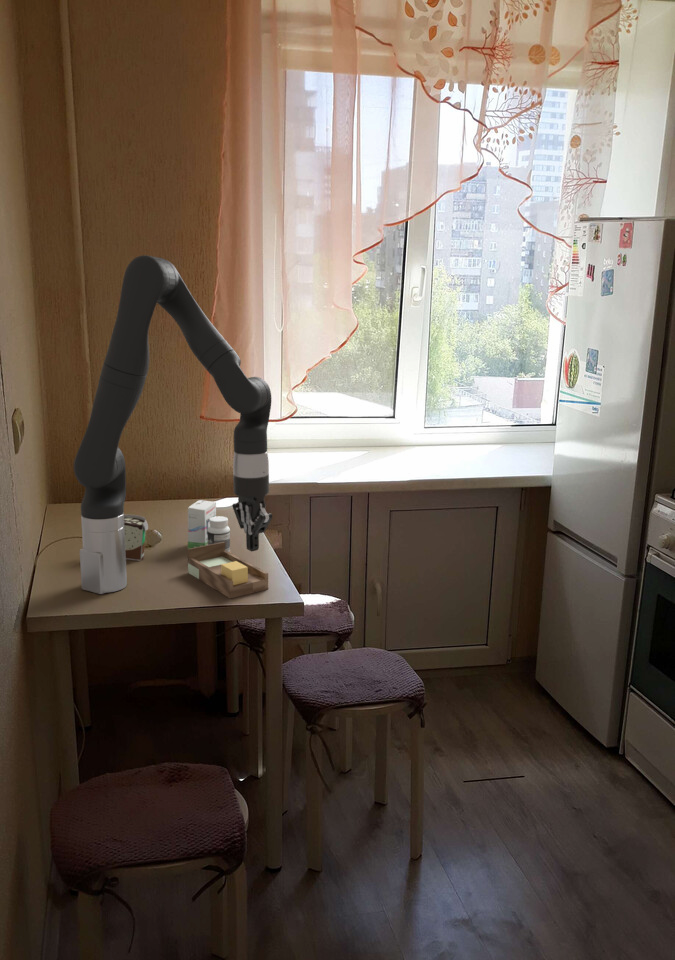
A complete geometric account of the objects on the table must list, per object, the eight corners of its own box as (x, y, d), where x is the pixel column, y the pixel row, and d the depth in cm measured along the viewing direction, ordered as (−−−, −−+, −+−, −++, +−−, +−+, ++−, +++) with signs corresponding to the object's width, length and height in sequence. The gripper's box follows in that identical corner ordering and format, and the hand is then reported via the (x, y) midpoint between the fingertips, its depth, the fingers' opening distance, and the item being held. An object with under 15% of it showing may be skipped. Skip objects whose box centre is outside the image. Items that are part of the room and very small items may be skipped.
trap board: (268, 589, 190) (268, 564, 189) (230, 598, 184) (229, 572, 183) (224, 564, 205) (224, 541, 204) (188, 572, 199) (187, 548, 198)
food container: (158, 553, 212) (156, 516, 210) (146, 561, 207) (145, 523, 204) (115, 549, 216) (113, 512, 213) (102, 556, 210) (100, 518, 208)
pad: (233, 571, 201) (232, 562, 200) (199, 579, 195) (198, 569, 195) (221, 565, 205) (221, 555, 204) (188, 572, 199) (187, 562, 199)
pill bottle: (205, 553, 213) (204, 516, 211) (227, 551, 215) (227, 514, 213) (210, 560, 208) (209, 522, 206) (232, 558, 210) (232, 520, 208)
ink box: (198, 541, 223) (197, 499, 220) (217, 543, 222) (216, 500, 219) (186, 551, 215) (185, 507, 212) (205, 553, 214) (205, 509, 211)
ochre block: (247, 581, 187) (247, 567, 186) (232, 585, 185) (232, 570, 184) (236, 575, 191) (236, 561, 190) (221, 578, 189) (221, 564, 188)
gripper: (283, 475, 173) (284, 554, 177) (249, 464, 183) (251, 539, 187) (252, 480, 169) (254, 561, 173) (220, 469, 179) (222, 545, 183)
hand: (252, 549), depth 180 cm, fingers closed
